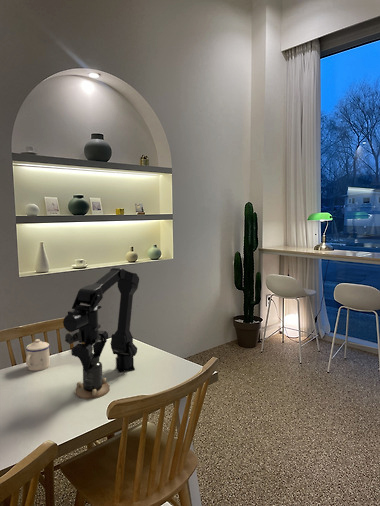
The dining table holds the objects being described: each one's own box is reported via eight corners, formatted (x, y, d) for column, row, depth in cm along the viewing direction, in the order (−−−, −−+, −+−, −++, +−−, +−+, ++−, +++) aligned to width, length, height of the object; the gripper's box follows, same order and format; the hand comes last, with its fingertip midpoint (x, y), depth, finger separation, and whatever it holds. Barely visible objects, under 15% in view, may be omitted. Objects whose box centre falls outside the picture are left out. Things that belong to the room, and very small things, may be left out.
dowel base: (106, 381, 149) (106, 374, 149) (112, 395, 138) (112, 388, 138) (74, 386, 145) (73, 379, 145) (77, 401, 134) (76, 394, 134)
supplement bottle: (106, 387, 142) (106, 355, 140) (90, 394, 137) (89, 361, 135) (95, 381, 146) (94, 350, 145) (79, 388, 141) (78, 355, 140)
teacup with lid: (36, 361, 169) (34, 335, 167) (55, 363, 166) (53, 336, 165) (17, 373, 157) (15, 345, 156) (37, 375, 155) (35, 346, 153)
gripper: (80, 315, 149) (81, 354, 151) (55, 330, 131) (57, 375, 133) (108, 316, 147) (109, 356, 149) (87, 332, 129) (89, 377, 131)
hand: (91, 365), depth 140 cm, fingers open, 9 cm apart
